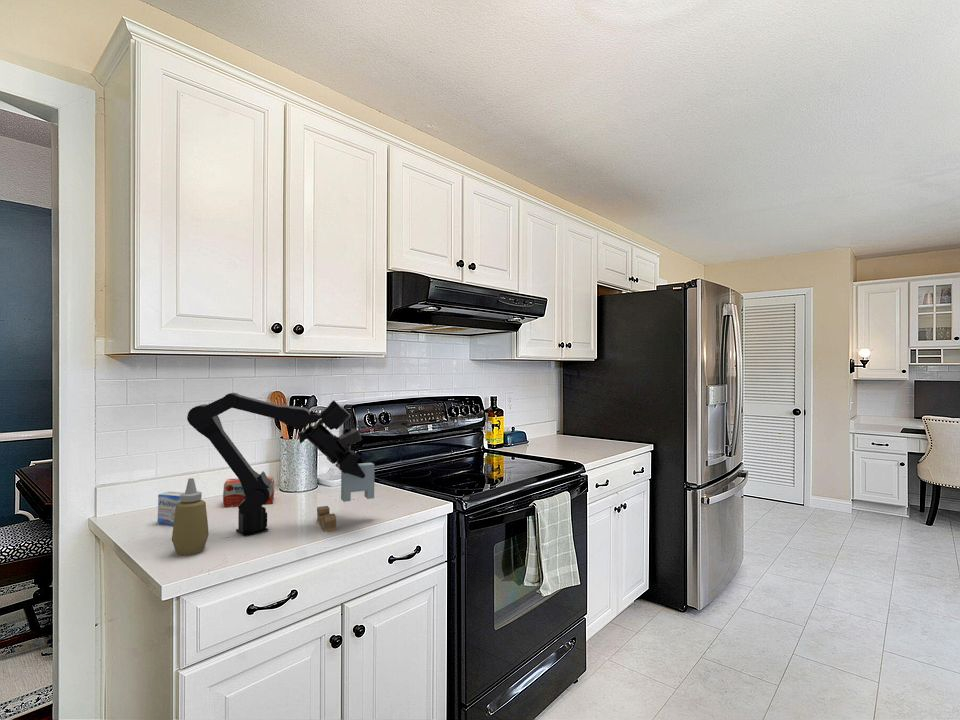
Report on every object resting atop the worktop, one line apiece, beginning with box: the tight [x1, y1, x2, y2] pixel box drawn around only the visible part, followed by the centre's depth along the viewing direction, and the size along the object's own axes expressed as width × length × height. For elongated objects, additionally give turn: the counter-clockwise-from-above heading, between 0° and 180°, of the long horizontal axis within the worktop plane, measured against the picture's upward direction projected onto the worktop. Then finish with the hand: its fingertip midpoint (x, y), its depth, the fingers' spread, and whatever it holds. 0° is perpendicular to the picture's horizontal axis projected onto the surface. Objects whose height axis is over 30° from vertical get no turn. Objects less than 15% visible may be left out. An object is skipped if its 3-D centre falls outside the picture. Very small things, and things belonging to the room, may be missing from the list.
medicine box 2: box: [222, 475, 275, 508], centre depth 173 cm, size 15×8×8 cm, turn 110°
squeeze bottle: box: [171, 477, 210, 556], centre depth 128 cm, size 8×8×18 cm
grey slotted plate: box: [340, 462, 375, 503], centre depth 153 cm, size 9×4×10 cm, turn 118°
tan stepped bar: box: [316, 505, 337, 533], centre depth 149 cm, size 12×3×4 cm, turn 28°
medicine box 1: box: [157, 491, 183, 526], centre depth 150 cm, size 8×4×9 cm, turn 76°
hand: (362, 475), depth 154 cm, fingers closed on grey slotted plate, 3 cm apart
